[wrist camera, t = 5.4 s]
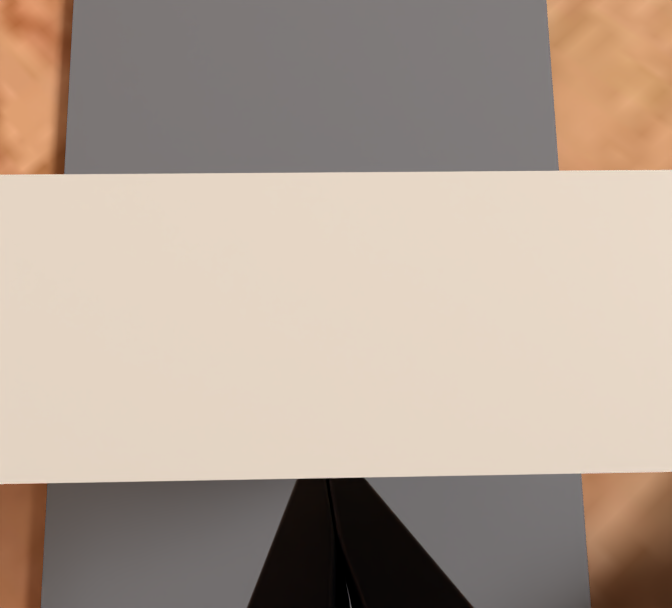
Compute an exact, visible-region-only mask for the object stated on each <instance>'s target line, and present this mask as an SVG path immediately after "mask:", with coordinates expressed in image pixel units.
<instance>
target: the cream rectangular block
mask: <svg viewBox="0 0 672 608" xmlns="http://www.w3.org/2000/svg"><path fill="white" fill-rule="evenodd" d="M634 472H672V170H598V171H460V172H321V173H182V174H44V175H0V484H31V483H86V482H141V481H195V480H250V479H305V478H360V477H415V476H470V475H525V474H580V473H634Z"/></svg>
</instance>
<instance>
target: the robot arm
mask: <svg viewBox="0 0 672 608" xmlns="http://www.w3.org/2000/svg"><path fill="white" fill-rule="evenodd" d="M347 588H348V589H347ZM348 593H349V594H348ZM349 598H350V601H349ZM350 603H351V608H474V607H473V606H472V605H471V603H470V602H469V601H468V600H467V599H466V597H465V596H464V595H463V594H462V593H461V591H460V590H459V589H458V588H457V587H456V586H455V584H454V583H453V582H452V581H451V580H450V578H449V577H448V576H447V575H446V574H445V573H444V571H443V570H442V569H441V568H440V567H439V565H438V564H437V563H436V562H435V561H434V559H433V558H432V557H431V556H430V555H429V554H428V552H427V551H426V550H425V549H424V548H423V546H422V545H421V544H420V543H419V542H418V541H417V539H416V538H415V537H414V536H413V535H412V533H411V532H410V531H409V530H408V529H407V527H406V526H405V525H404V524H403V523H402V522H401V520H400V519H399V518H398V517H397V516H396V514H395V513H394V512H393V511H392V510H391V508H390V507H389V506H388V505H387V504H386V503H385V501H384V500H383V499H382V498H381V497H380V495H379V494H378V493H377V492H376V491H375V490H374V488H373V487H372V486H371V485H370V484H369V482H368V481H367V480H366V479H365V478H364V477H360V478H305V479H297V480H296V482H295V485H294V487H293V490H292V493H291V495H290V498H289V500H288V503H287V505H286V508H285V511H284V513H283V516H282V518H281V521H280V523H279V526H278V529H277V531H276V534H275V536H274V539H273V541H272V544H271V547H270V549H269V552H268V554H267V557H266V560H265V562H264V565H263V567H262V570H261V572H260V575H259V578H258V580H257V583H256V585H255V588H254V590H253V593H252V596H251V598H250V601H249V603H248V606H247V608H350Z"/></svg>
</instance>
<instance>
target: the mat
mask: <svg viewBox="0 0 672 608" xmlns="http://www.w3.org/2000/svg"><path fill="white" fill-rule="evenodd" d="M460 171H559V167H558V153H557V140H556V126H555V113H554V99H553V86H552V72H551V59H550V45H549V31H548V18H547V4H546V0H74V5H73V23H72V42H71V60H70V79H69V97H68V115H67V134H66V152H65V170H64V174H182V173H321V172H460ZM364 478H365V479H366V480H367V481H368V482H369V484H370V485H371V486H372V487H373V488H374V490H375V491H376V492H377V493H378V494H379V495H380V497H381V498H382V499H383V500H384V501H385V503H386V504H387V505H388V506H389V507H390V508H391V510H392V511H393V512H394V513H395V514H396V516H397V517H398V518H399V519H400V520H401V522H402V523H403V524H404V525H405V526H406V527H407V529H408V530H409V531H410V532H411V533H412V535H413V536H414V537H415V538H416V539H417V541H418V542H419V543H420V544H421V545H422V546H423V548H424V549H425V550H426V551H427V552H428V554H429V555H430V556H431V557H432V558H433V559H434V561H435V562H436V563H437V564H438V565H439V567H440V568H441V569H442V570H443V571H444V573H445V574H446V575H447V576H448V577H449V578H450V580H451V581H452V582H453V583H454V584H455V586H456V587H457V588H458V589H459V590H460V591H461V593H462V594H463V595H464V596H465V597H466V599H467V600H468V601H469V602H470V603H471V605H472V606H473V607H474V608H591V601H590V587H589V574H588V560H587V547H586V533H585V520H584V506H583V493H582V479H581V473H580V474H525V475H470V476H415V477H364ZM296 480H297V479H250V480H195V481H141V482H86V483H47V501H46V519H45V538H44V556H43V574H42V593H41V608H247V606H248V603H249V601H250V598H251V596H252V593H253V590H254V588H255V585H256V583H257V580H258V578H259V575H260V572H261V570H262V567H263V565H264V562H265V560H266V557H267V554H268V552H269V549H270V547H271V544H272V541H273V539H274V536H275V534H276V531H277V529H278V526H279V523H280V521H281V518H282V516H283V513H284V511H285V508H286V505H287V503H288V500H289V498H290V495H291V493H292V490H293V487H294V485H295V482H296ZM347 589H348V588H347ZM348 594H349V593H348ZM349 601H350V598H349ZM350 608H351V603H350Z"/></svg>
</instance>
